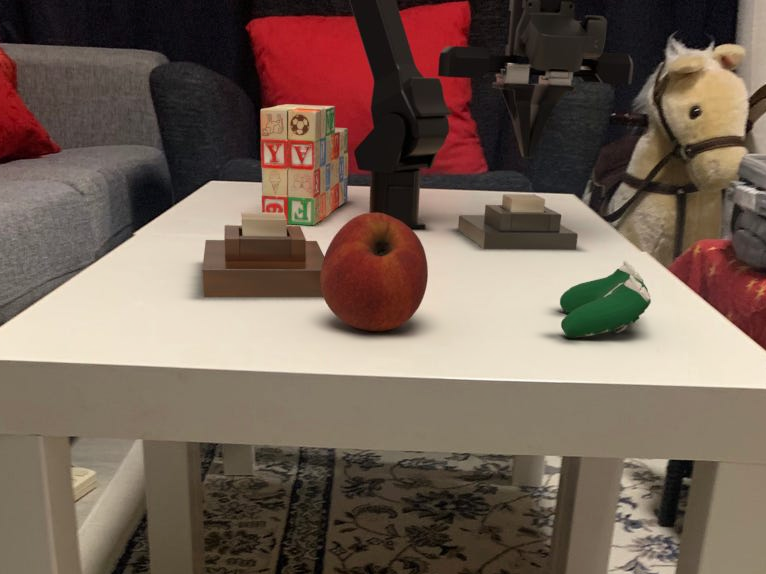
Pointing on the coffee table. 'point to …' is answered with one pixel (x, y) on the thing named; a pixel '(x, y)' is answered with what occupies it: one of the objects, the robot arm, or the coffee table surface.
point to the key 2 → (523, 203)
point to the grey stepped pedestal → (517, 230)
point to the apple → (374, 273)
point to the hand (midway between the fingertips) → (526, 157)
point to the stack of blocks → (303, 162)
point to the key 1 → (263, 224)
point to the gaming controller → (604, 303)
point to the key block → (262, 265)
